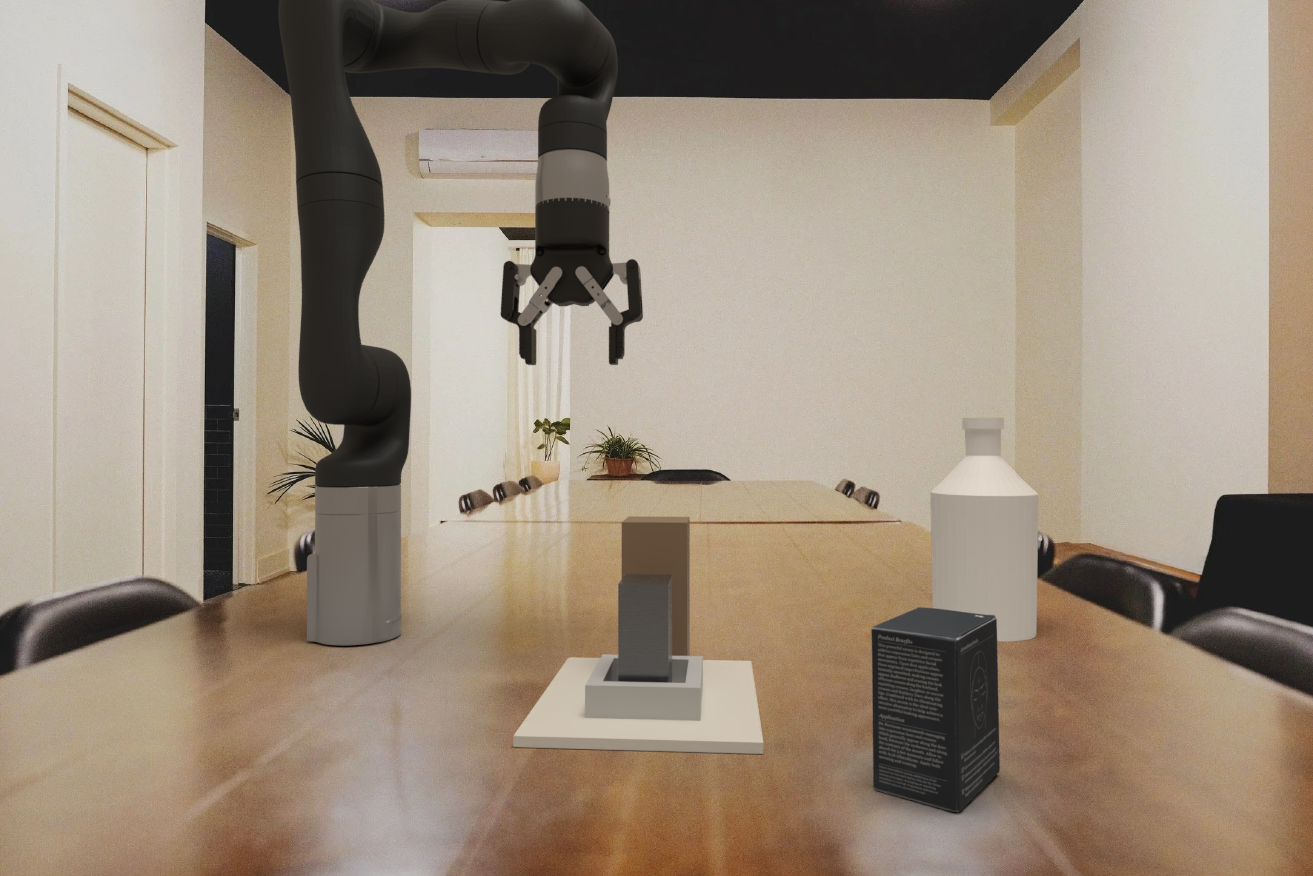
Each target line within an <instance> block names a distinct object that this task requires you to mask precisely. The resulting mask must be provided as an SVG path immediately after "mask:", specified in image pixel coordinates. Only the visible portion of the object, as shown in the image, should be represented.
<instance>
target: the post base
mask: <svg viewBox="0 0 1313 876" xmlns="http://www.w3.org/2000/svg"><path fill="white" fill-rule="evenodd" d="M690 523H691V522H690V516H635V515H634V516H631V515H629V516H627V517H626V518H625V519H624V520H622V521H621V579H622V578H623V577H624V575H625V574H662V575H672V683H661V682H618V654H611V653H610V654H606V653H605V654H603V653H602V654H601V656H600V657H574V656H573V657H572V656H570V657H568V658H566V660H565V662H564V663H563V665H562V666H561V667H560V669H559V671H558V672H557V674H556V675H555V676H554V677H553V679H552V680H551V682H550V683H549V685H548V686H547V687H546V688H545V690H544V692H543V693H542V695H541V696H540V698H539V699H538V700H537V701H536V703H535V705H534V706H533V708H532V709H531V710H530V711H529V713H528V714H527V716H525V719H524V720H523V722H522V723H521V724H520V726H519V728H518V729H517V730H516V732H515V733H514V734H513V739H512V741H513V744H512V747H513V748H531V749H535V748H537V749H541V748H542V749H568V750H569V749H570V750H571V749H572V750H574V749H576V750H602V751H603V750H606V751H607V750H608V751H609V750H610V751H613V750H614V751H644V752H646V751H647V752H676V753H677V752H679V753H680V752H682V753H686V752H687V753H711V754H712V753H713V754H716V753H717V754H748V755H749V754H750V755H751V754H752V755H754V754H755V755H764V739H763V738H764V737H763V730H762V726H761V725H762V723H761V718H760V711H759V704H758V697H757V691H756V685H755V677H754V670H753V665H752V664H753V662H752V660H731V659H730V660H727V659H726V660H724V659H723V660H722V659H721V660H719V659H717V660H716V659H704V656H703V655H702V656H701V655H690V654H691V652H690V651H691V650H690V649H691V648H690V644H691V643H690V641H691V638H690V636H691V635H690V634H691V630H690V628H691V627H690V621H691V620H690V619H691V618H690V617H691V616H690V614H691V613H690V607H691V605H690V604H691V603H690V602H691V600H690V599H691V598H690V597H691V593H690V592H691V591H690V590H691V589H690V586H691V585H690V583H691V582H690V577H691V576H690V574H691V573H690V571H691V570H690V568H691V567H690V565H691V563H690V561H691V560H690V559H691V558H690V554H691V553H690V552H691V551H690V550H691V549H690V546H691V545H690V543H691V540H690V534H691V533H690V531H691V530H690V528H691V527H690Z"/></svg>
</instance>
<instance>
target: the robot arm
mask: <svg viewBox="0 0 1313 876" xmlns="http://www.w3.org/2000/svg"><path fill="white" fill-rule="evenodd" d="M278 25H279V32H280V33H279V34H280V38H281V39H280V40H281V45H282V51H283V59H284V64H285V70H286V75H287V76H286V77H287V82H288V88H289V95H290V105H291V115H292V116H291V117H292V127H293V138H294V139H293V140H294V152H295V154H294V156H295V184H296V185H295V187H296V201H297V202H296V204H297V205H296V206H297V207H296V208H297V218H298V220H297V221H298V226H299V228H298V229H299V241H300V242H299V244H300V268H301V269H300V275H301V277H300V279H301V281H300V282H301V312H300V328H299V329H300V331H299V346H298V347H299V348H298V387H299V394H300V396H301V400H302V403H303V405H304V407H305V409H306V411H307V412H308V414H309V415H310V417H312V418H314V419H315V420H316V421H318V422H320V423H322V424H327V425H333V426H336V425H337V426H343V433H342V440H341V442H340V444H339V446H338V447H336V449H335V450H334V451H332V452H331V453H330V454H328V455H326V456H324V457H323V458H321V459H319V460H318V461H317V463H316V465H315V469H314V553H311V554H309V555H308V556H307V558H306V642H315V643H318V644H323V645H327V646H329V645H330V646H356V645H357V646H359V645H360V646H361V645H368V644H369V645H370V644H375V643H382V642H386V641H389V640H392V639H395V638H397V637H399V636H401V633H402V628H401V627H402V472H403V469H404V466H405V463H406V462H407V459H408V455H409V446H410V431H411V430H410V429H411V428H410V427H411V411H412V386H411V379H410V374H409V371H408V368H407V366H406V363H405V362H404V361H403V359H402V358H401V357H400V356H399V355H398V354H397V353H396V352H394V351H392V350H390V349H387V348H382V347H378V346H372V345H366V344H362V340H361V332H360V331H361V330H360V317H359V316H360V315H359V314H360V313H359V312H360V311H359V310H360V309H359V308H360V307H359V304H360V296H361V291H362V290H361V289H362V286H363V284H364V280H365V279H366V276H367V274H368V271H369V270H370V269H371V266H372V264H373V261H374V260H375V257H376V256H377V253H378V252H379V249H380V247H381V244H382V242H383V237H384V233H385V204H384V203H385V202H384V201H385V200H384V185H383V177H382V172H381V168H380V164H379V161H378V159H377V156H376V154H375V152H374V149H373V146H372V144H371V142H370V141H371V140H370V139H369V136H368V135H367V132H366V130H365V128H364V126H363V124H362V122H361V120H360V118H359V116H358V113H357V110H356V109H355V106H354V103H353V102H352V99H351V96H350V93H349V88H348V84H347V78H346V73H349V74H350V73H351V74H369V73H377V72H378V73H379V72H387V71H395V70H408V69H449V70H451V69H452V70H461V71H468V72H475V73H476V72H477V73H485V74H486V73H487V74H495V75H496V74H497V75H507V76H508V75H515V74H520V73H522V72H524V71H525V70H526V69H527V68H528V67H529V66H530V64H533V65H537V66H541V67H543V68H545V69H546V70H547V71H548V72H550V73H551V74H552V75H553V76H554V77H555V78H556V80H557V93H556V96H553V97H551V98H548V99H547V100H546V101H544V103H543V104H542V106H541V107H540V110H539V114H538V121H537V122H538V123H537V124H538V125H537V169H536V175H535V185H534V186H535V188H534V190H535V192H534V193H535V195H534V196H535V197H534V199H535V201H534V205H535V206H534V210H535V212H534V214H535V216H534V218H535V219H534V220H535V221H534V223H535V225H534V226H535V228H534V232H535V233H534V238H535V239H534V244H535V245H534V247H535V249H534V253H535V254H534V259H533V261H532V263H531V264H520V263H519V264H518V263H515V262H514V261H512V260H507V261H505V262H504V264H503V267H502V269H503V270H502V284H501V299H500V300H501V301H500V316H501V318H502V319H503V320H505V321H507V323H510V324H513V325H517V327H518V353H519V357H520V359H522V360H524V362H525V365H528V366H537V329H536V328H535V326H536V324H538V322H539V321H540V319H541V318H542V317H543V316H544V314H546V313H547V312H548V311H549V309H550V308H551V306H552V305H553V304H554V305H556V306H558V307H570V306H573V305H576V306H580V307H590V305H592V304H594V303H595V302H596V303H597V305H598V306H599V307H600V309H601V310H602V311H603V313H604V315H606V316H607V318H608V319H609V321H610V326H608V364H609V365H610V366H618V365H619V360H623V359H624V356H625V355H626V354H625V344H626V343H625V337H626V336H625V333H626V332H625V331H626V328H627V327H628V326H629V325H632V324H635V323H640V322H642V320H643V318H644V311H643V293H642V291H643V290H642V279H641V278H642V277H641V267H640V265H639V263H638V261H637V260H636V259H633V258H631V259H628V260H627V261H626V262H615V263H612V261H611V257H610V207H611V195H610V179H609V172H608V127H607V126H608V125H607V122H608V117H609V114H610V111H611V107H612V104H613V98H614V95H615V90H616V89H615V88H616V84H617V78H618V70H619V66H618V65H619V63H618V52H617V51H618V50H617V47H616V43H615V40H614V38H613V36H612V34H611V33H610V31H609V30H608V29H607V28H606V26H605V25H604V24H603V23H602V22H601V21H600V20H599V19H598V18H597V17H596V16H595V14H594V13H593V12H592V11H591V10H590V8H588V7H587V5H585V3H583V2H582V1H581V0H509V1H503V0H502V1H501V0H444V1H441V2H438V3H437V4H435V5H433V6H431V7H429V8H428V9H426V10H424V11H419V12H408V11H403V10H399V9H396V8H392V7H389V6H386V5H383V4H380V3H379V2H376V1H375V0H278ZM614 275H616V276H618V277H619V280H620V281H621V283H622V284H623V285H626V286H627V287H626V289H627V306H628V309H626V310H624V311H619V310H618V308H617V307H616V306H615V304H614V303H613V301H612V300H611V299H610V297H609V296H608V295H607V294H606V293H605V291H604V290H605V288H606V287H607V286H608V285H609V283H610V282H611V281H612V279H613V277H614ZM530 276H531V277H532V278H533V280H534V281H535V282H536V284H537V286H539V287H538V288H537V289H536V291H535V292H534V293H533V295H532V296H531V297H530V299H529V302H528V304H527V305H526V306H525V308H524V309H523V310H522V312H519V308H520V307H519V305H520V294H521V293H520V291H521V287H523V286H524V285H526V283H527V279H528V278H529V277H530Z"/></svg>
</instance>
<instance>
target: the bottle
mask: <svg viewBox="0 0 1313 876" xmlns="http://www.w3.org/2000/svg"><path fill="white" fill-rule="evenodd" d="M1004 419H1005V418H1004V417H963V418H962V423H961V425H962V428H961V429H962V430H964V433H965V434H964V437H965V440H964V441H965V442H964V443H965V444H964V445H965V456H964V457H962V459H961V460H960V462H958V464H956V466H955V467H954V468H952V470H951V471H950V472H949V473H948V475H946V477H945V478H944V479H943V480H941V481H940V482H939V483H938V484H937V485H936V486H935V487H934V488H933V489H932V490H931V491H929V492H930V494H929V495H930V501H929V503H930V537H931V541H930V544H931V545H930V546H931V550H930V551H931V578H932V579H931V583H932V585H931V591H932V592H931V593H932V594H931V595H932V608H936V609H944V610H952V611H960V612H967V613H975V614H984V615H995V617H996V618H997V643H998V642H999V643H1001V642H1007V643H1010V642H1022V641H1028V640H1031V639H1034V638H1036V637H1037V620H1038V619H1037V618H1038V617H1037V616H1038V615H1037V614H1038V560H1039V559H1038V555H1039V554H1038V550H1039V547H1038V544H1039V493H1038V492H1037V491H1035V489H1034V488H1033V487H1032V486H1030V485H1029V484H1028V483H1027V482H1026V481H1025V480H1024V479H1022V478H1021V477H1020V475H1019V474H1018V473H1017V472H1016V471H1015V469H1014V468H1012V467H1011V466H1010V464H1009V463H1008V462H1007V461H1006V460H1005V459H1004V458H1003V457H1002V456H1001V453H1002V452H1001V451H1002V443H1001V442H1002V441H1001V440H1002V430H1004V428H1005V426H1004V425H1005V424H1004V423H1005V422H1004V421H1005V420H1004Z"/></svg>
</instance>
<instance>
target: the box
mask: <svg viewBox="0 0 1313 876" xmlns="http://www.w3.org/2000/svg"><path fill="white" fill-rule="evenodd" d="M870 632H871V633H870V634H871V671H872V672H871V673H872V674H871V675H872V680H871V682H872V684H871V685H872V689H871V690H872V694H871V696H872V761H873V763H872V764H873V765H872V769H873V772H872V774H873V780H872V781H873V784H872V785H873V788H874V789H875V791H878V792H880V793H881V792H882V793H884V794H886V795H890V796H891V795H892V796H895V797H899V798H902V799H906V800H909V801H912V802H917V803H918V804H919V803H920V804H924V805H927V806H930V807H934V808H937V809H940V810H946V811H948V812H954V813H959V812H960V811H963V809H964V808H965V807H966V806H967V804H968V803H970V802H971V801H972V800H973V799H974V798H975V797H976V796H977V795H978V794H979V793H980V791H982V790H983V788H985V786H987V785H988V784H989V783H990V782H991V781H992V780H993V778H995V777H996V776H997V775H998V773H1000V770H1001V766H1000V765H1001V764H1000V763H1001V762H1000V761H1001V760H1000V759H1001V758H1000V755H1001V754H1000V719H999V716H1000V714H999V708H1000V707H999V668H998V667H999V665H998V664H999V663H998V657H999V655H998V642H997V618H996V617H995V615H984V614H975V613H967V612H960V611H952V610H944V609H936V608H933V607H916V608H915V609H914V608H913V609H911V610H909V611H907V612H905V613H901V614H900V615H898V616H895V617H892V618H891V619H887V620H886V621H883V622H881V623H878V624H876V625H874V626H872V627H871V631H870Z"/></svg>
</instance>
